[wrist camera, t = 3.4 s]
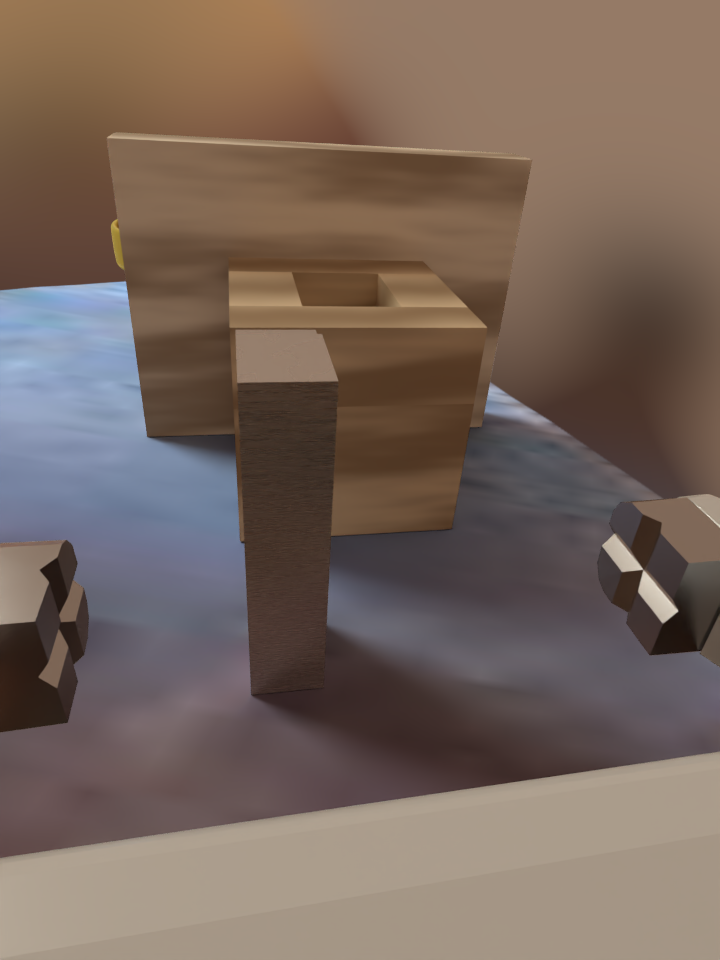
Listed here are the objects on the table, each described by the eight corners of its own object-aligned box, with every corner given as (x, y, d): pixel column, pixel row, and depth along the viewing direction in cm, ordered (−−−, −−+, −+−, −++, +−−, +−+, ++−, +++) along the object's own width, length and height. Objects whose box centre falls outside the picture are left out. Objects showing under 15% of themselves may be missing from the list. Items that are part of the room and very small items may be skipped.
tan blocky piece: (548, 523, 38) (640, 195, 28) (124, 548, 33) (57, 171, 24) (468, 408, 50) (513, 153, 40) (151, 416, 46) (114, 132, 36)
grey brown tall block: (323, 687, 27) (338, 381, 19) (251, 694, 26) (237, 382, 19) (308, 592, 31) (316, 316, 24) (247, 597, 31) (234, 316, 23)
